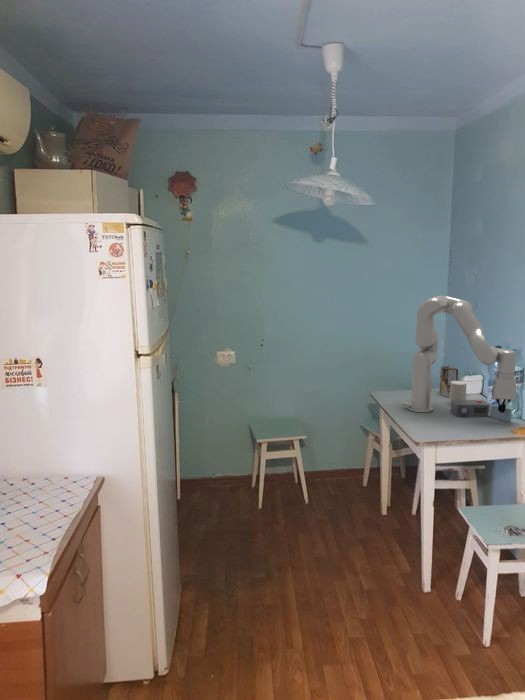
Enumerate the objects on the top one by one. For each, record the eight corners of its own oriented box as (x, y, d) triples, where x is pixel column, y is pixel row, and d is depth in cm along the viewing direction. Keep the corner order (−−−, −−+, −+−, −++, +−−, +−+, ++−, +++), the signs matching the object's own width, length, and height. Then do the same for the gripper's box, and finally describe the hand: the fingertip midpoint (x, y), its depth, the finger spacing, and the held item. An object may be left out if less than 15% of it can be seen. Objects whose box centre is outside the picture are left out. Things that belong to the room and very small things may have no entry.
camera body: (456, 417, 263) (457, 404, 261) (450, 410, 273) (451, 398, 272) (489, 417, 262) (490, 404, 260) (482, 411, 272) (483, 398, 271)
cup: (450, 405, 282) (451, 384, 280) (448, 401, 290) (449, 380, 287) (466, 406, 280) (467, 384, 278) (464, 402, 288) (465, 381, 285)
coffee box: (457, 396, 299) (458, 369, 296) (446, 397, 297) (448, 369, 294) (448, 392, 307) (450, 365, 304) (438, 393, 306) (440, 366, 303)
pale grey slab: (511, 421, 255) (512, 408, 254) (509, 421, 254) (510, 409, 253) (490, 416, 263) (491, 404, 262) (489, 416, 262) (489, 404, 261)
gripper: (492, 376, 247) (488, 413, 251) (524, 377, 247) (520, 414, 250) (486, 372, 255) (482, 409, 259) (518, 373, 254) (514, 410, 258)
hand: (501, 411), depth 254 cm, fingers closed
